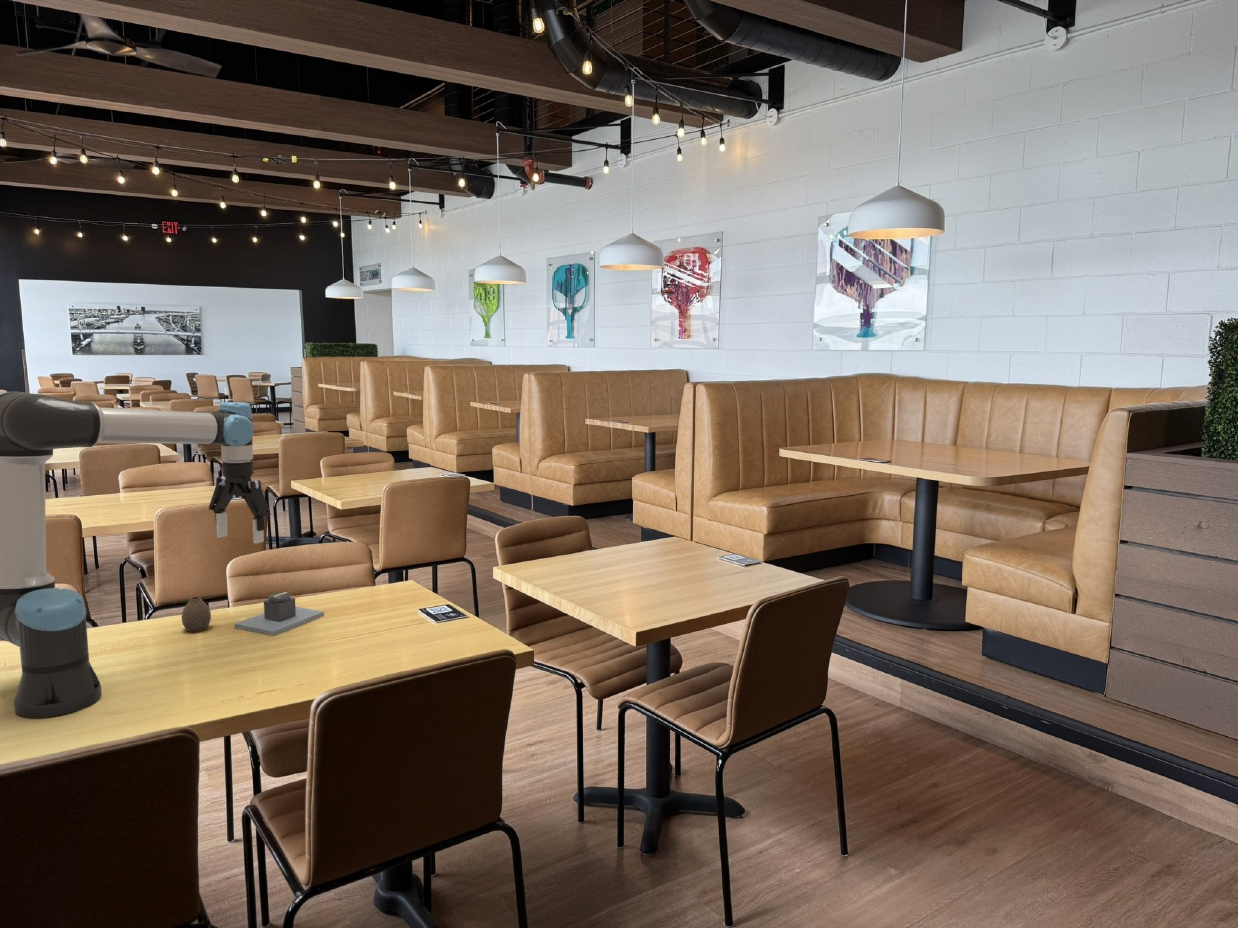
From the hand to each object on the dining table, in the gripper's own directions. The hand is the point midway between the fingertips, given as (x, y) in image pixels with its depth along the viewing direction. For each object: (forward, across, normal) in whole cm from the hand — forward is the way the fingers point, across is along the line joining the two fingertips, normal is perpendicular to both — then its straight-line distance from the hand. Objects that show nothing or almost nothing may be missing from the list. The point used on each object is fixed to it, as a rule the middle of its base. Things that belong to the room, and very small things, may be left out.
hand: (240, 539), depth 218 cm
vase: (+24, +8, +8) cm, 26 cm away
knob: (+22, -7, -6) cm, 24 cm away
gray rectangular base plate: (+23, -7, -6) cm, 25 cm away
